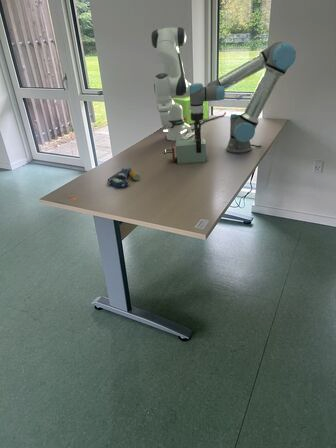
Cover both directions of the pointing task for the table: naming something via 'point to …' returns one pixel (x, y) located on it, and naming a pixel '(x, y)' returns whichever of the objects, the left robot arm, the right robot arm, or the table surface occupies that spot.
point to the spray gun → (123, 177)
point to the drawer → (171, 152)
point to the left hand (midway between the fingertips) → (166, 129)
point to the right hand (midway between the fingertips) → (198, 149)
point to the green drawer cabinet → (190, 151)
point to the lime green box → (186, 111)
